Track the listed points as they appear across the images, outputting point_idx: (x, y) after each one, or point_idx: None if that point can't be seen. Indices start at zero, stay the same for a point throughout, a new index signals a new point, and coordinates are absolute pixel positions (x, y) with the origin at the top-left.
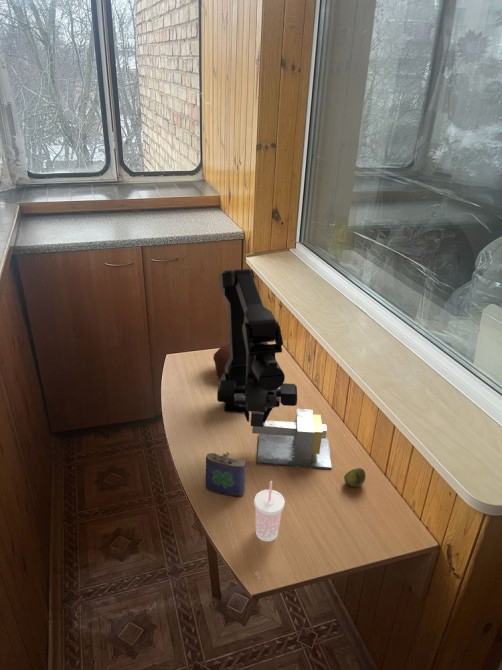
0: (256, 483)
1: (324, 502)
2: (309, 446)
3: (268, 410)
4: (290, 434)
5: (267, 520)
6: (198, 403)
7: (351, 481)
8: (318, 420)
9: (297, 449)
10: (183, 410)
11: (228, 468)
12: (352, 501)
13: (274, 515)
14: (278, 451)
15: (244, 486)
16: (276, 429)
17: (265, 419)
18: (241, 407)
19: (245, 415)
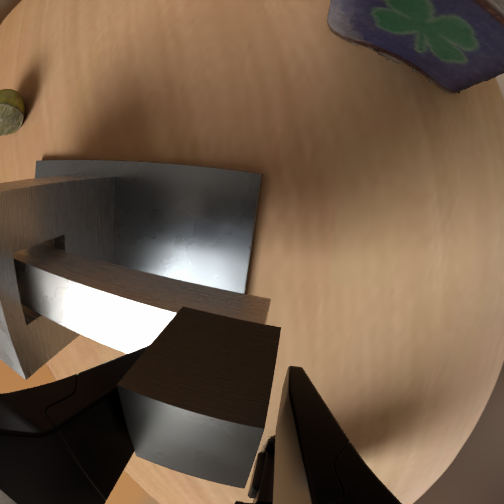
0: (276, 63)
1: (84, 31)
2: (24, 180)
3: (52, 399)
4: (67, 255)
5: None
6: (397, 459)
7: (8, 89)
8: None
9: (68, 180)
10: (443, 435)
11: None
12: (37, 58)
13: None
14: (165, 239)
15: (330, 2)
16: (109, 283)
17: (143, 352)
18: (395, 499)
19: (327, 413)
